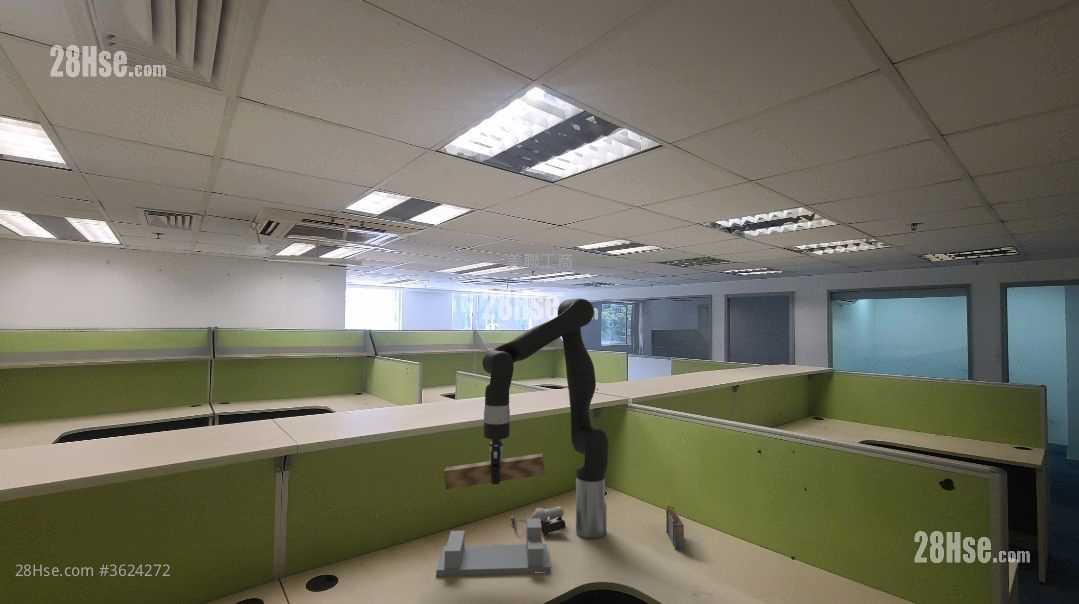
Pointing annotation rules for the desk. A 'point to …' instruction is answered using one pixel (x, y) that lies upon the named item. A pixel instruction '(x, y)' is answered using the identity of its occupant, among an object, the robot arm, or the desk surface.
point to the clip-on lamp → (547, 519)
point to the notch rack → (495, 555)
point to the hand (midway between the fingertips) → (495, 481)
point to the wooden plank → (483, 473)
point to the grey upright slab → (674, 528)
